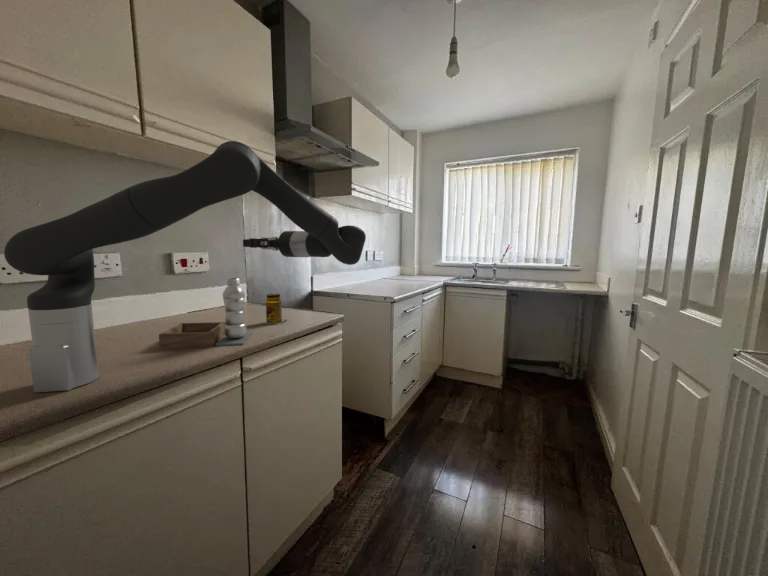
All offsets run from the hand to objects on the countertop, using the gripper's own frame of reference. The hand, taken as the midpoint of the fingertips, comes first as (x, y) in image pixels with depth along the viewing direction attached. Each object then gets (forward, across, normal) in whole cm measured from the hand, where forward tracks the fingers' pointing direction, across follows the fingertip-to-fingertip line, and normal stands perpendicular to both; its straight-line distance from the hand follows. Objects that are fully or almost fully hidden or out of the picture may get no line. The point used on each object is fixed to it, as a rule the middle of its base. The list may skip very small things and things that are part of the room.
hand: (254, 243), depth 91 cm
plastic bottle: (+10, -1, +32) cm, 33 cm away
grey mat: (+10, -1, +32) cm, 34 cm away
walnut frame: (+20, +5, +32) cm, 38 cm away
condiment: (+15, -26, +32) cm, 44 cm away
